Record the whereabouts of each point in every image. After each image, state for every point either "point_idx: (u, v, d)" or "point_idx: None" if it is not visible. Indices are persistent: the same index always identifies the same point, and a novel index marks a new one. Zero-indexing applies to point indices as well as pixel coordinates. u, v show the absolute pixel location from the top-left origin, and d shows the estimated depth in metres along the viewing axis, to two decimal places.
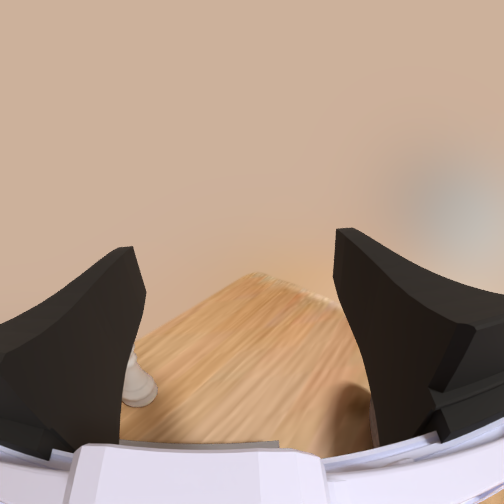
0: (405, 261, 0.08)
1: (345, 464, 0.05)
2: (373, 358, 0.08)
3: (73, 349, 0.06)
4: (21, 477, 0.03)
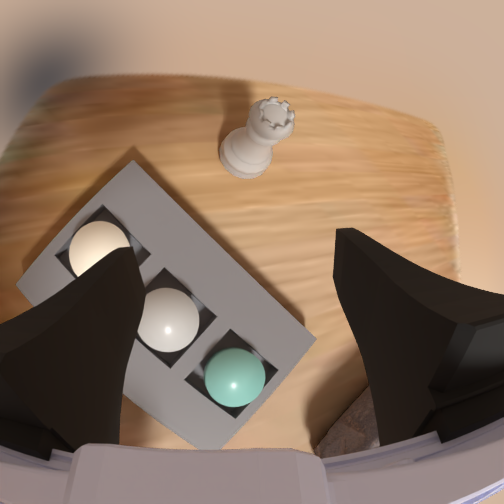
0: (405, 261, 0.08)
1: (345, 464, 0.05)
2: (373, 358, 0.08)
3: (73, 349, 0.06)
4: (21, 477, 0.03)
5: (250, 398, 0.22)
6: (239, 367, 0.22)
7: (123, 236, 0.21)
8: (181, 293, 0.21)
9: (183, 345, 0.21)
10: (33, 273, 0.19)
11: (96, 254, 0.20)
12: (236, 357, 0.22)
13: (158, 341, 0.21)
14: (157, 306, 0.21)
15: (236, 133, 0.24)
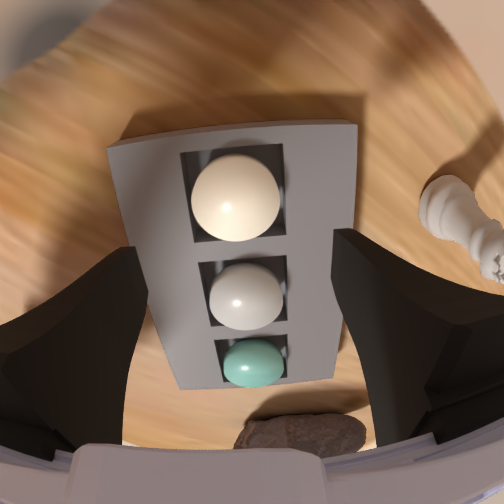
0: (402, 261, 0.08)
1: (345, 464, 0.05)
2: (370, 359, 0.08)
3: (76, 349, 0.06)
4: (21, 477, 0.03)
5: (249, 385, 0.24)
6: (264, 366, 0.22)
7: (276, 207, 0.16)
8: (279, 294, 0.19)
9: (240, 328, 0.20)
10: (138, 153, 0.15)
11: (231, 201, 0.16)
12: (270, 359, 0.22)
13: (222, 312, 0.20)
14: (249, 289, 0.19)
15: (462, 197, 0.16)
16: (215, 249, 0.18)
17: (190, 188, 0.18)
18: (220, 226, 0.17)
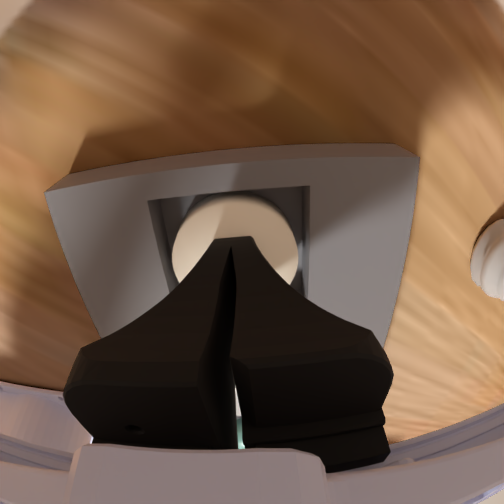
0: (271, 274, 0.08)
1: (345, 464, 0.05)
2: None
3: (220, 348, 0.06)
4: (21, 477, 0.03)
5: None
6: None
7: (293, 268, 0.11)
8: None
9: None
10: (87, 200, 0.10)
11: None
12: None
13: None
14: None
15: None
16: None
17: (169, 244, 0.12)
18: None
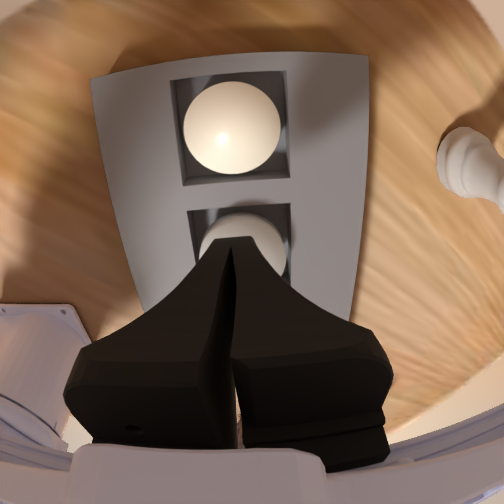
0: (271, 274, 0.08)
1: (345, 464, 0.05)
2: None
3: (220, 348, 0.06)
4: (21, 477, 0.03)
5: None
6: None
7: (276, 135, 0.14)
8: (282, 249, 0.16)
9: None
10: (123, 82, 0.12)
11: (227, 127, 0.14)
12: None
13: None
14: None
15: (483, 146, 0.14)
16: (207, 194, 0.16)
17: (181, 126, 0.15)
18: (214, 156, 0.14)
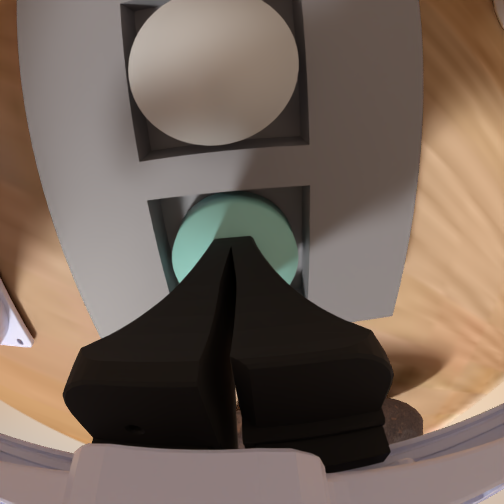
0: (271, 274, 0.08)
1: (345, 464, 0.05)
2: None
3: (220, 348, 0.06)
4: (21, 477, 0.03)
5: None
6: None
7: None
8: (290, 41, 0.07)
9: (197, 139, 0.08)
10: None
11: None
12: (269, 231, 0.11)
13: (155, 92, 0.07)
14: (217, 23, 0.06)
15: None
16: None
17: None
18: None
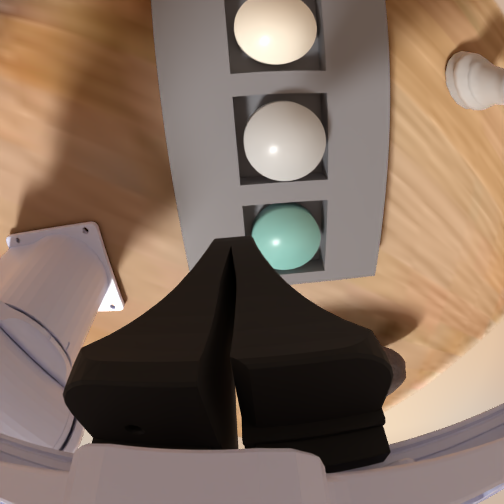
0: (271, 274, 0.08)
1: (345, 464, 0.05)
2: None
3: (220, 348, 0.06)
4: (21, 477, 0.03)
5: (280, 265, 0.21)
6: (299, 233, 0.20)
7: (313, 34, 0.14)
8: (322, 131, 0.16)
9: (277, 177, 0.17)
10: None
11: (272, 25, 0.14)
12: (305, 223, 0.20)
13: (257, 153, 0.17)
14: (289, 121, 0.16)
15: (484, 61, 0.14)
16: (252, 82, 0.16)
17: (227, 31, 0.15)
18: (260, 48, 0.14)
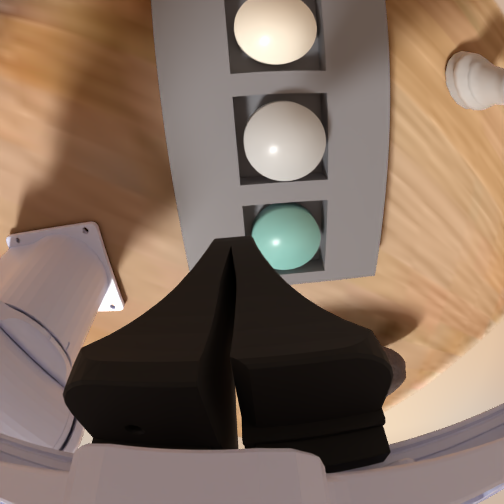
0: (271, 274, 0.08)
1: (345, 464, 0.05)
2: None
3: (220, 348, 0.06)
4: (21, 477, 0.03)
5: (280, 265, 0.21)
6: (299, 233, 0.20)
7: (313, 34, 0.14)
8: (322, 131, 0.16)
9: (277, 177, 0.17)
10: None
11: (272, 25, 0.14)
12: (305, 223, 0.20)
13: (257, 153, 0.17)
14: (289, 121, 0.16)
15: (484, 61, 0.14)
16: (252, 82, 0.16)
17: (227, 31, 0.15)
18: (260, 48, 0.14)
